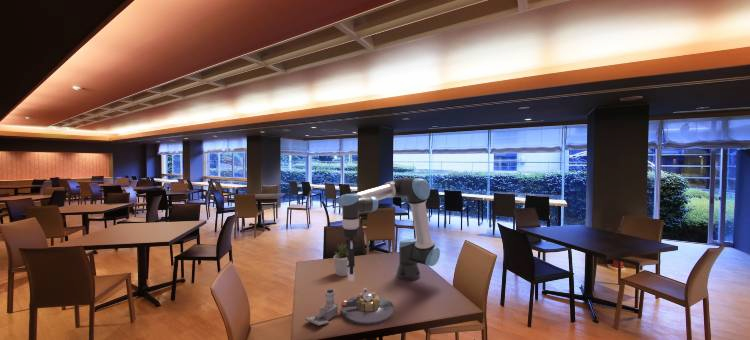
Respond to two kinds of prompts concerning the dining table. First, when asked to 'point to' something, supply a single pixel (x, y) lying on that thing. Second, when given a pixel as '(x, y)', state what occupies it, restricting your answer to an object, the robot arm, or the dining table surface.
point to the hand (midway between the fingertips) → (350, 277)
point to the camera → (325, 310)
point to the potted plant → (341, 262)
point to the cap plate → (372, 316)
